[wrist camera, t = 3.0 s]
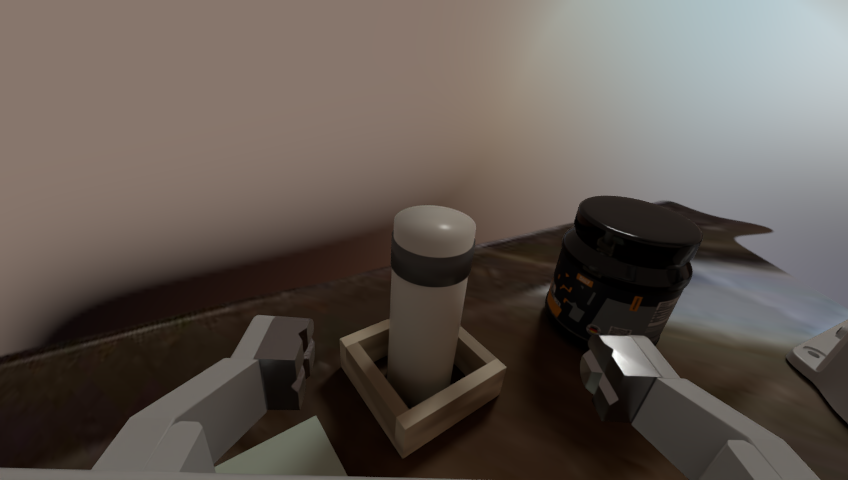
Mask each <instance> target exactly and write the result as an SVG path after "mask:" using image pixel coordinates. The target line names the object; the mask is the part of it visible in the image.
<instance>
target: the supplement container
mask: <svg viewBox="0 0 848 480" xmlns="http://www.w3.org/2000/svg"><path fill="white" fill-rule="evenodd" d="M702 240H703V234H702V232H701V230H700V229H699V227H698V226H697V225H696V224H695V223H693V222H692V221H691V220H689V219H688V218H686V217H684V216H682V215H681V214H679V213H677V212H674V211H672V210H670V209H667V208H665V207H662V206H659V205H656V204H653V203H649V202H645V201H642V200H637V199H632V198H627V197H618V196H595V197H591V198H587V199H585V200H584V201H582V202H581V203H580V205H579V207H578V211H577V214H576V217H575V220H574V226H573V227H572V228H570V229H569V230H568V231H567V232H566V233H565V235H564V237H563V240H562V249H561V252H560V255H559V259H558V262H557V265H556V269H555V272H554V275H553V279H552V282H551V285H550V289H549V291H548V293H547V296H546V299H545V310H546V314H547V317H548V319H549V321H550V322H551V324H552V325H553V327H554V328H555V329H556V330H557V331H558V332H559V333H560V334H561V335H562V336H563V337H564V338H566V339H567V340H568V341H570V342H571V343H573V344H574V345H576V346H578V347H580V348H582V349H584V350H586V351H589V350H590V348H589V346H588V341H589V339H590V337H591V336H592V335H593V334H607V335H625V336H626V335H638V336H645V337H647V338H648V339H649V340H650V341H651V342H652V343H653V345H654V346H656V344H657V343H658V341H659V338H660V334H661V332H662V330H663V328H664V327H665V325H666V323H667V321H668V319H669V317H670V315H671V313H672V311H673V309H674V307H675V305H676V303H677V301H678V299H679V297H680V295H681V293H682V291H683V290H684V288H685V287H686V286H687V285H688V284H689V282H690V280H691V278H692V274H693V271H692V266H691V263H690V261H691V260H692V259H693V258H694V256H695V254H696V252H697V250H698V248H699V246H700V244H701V242H702Z"/></svg>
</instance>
